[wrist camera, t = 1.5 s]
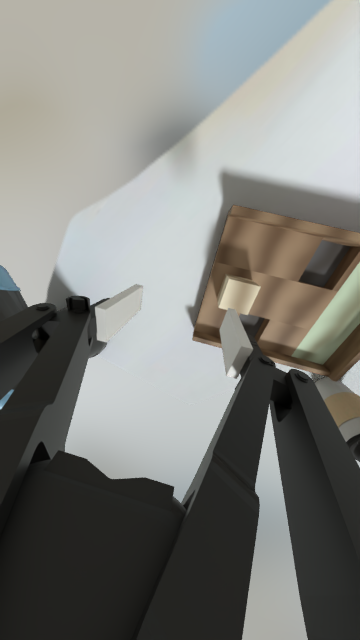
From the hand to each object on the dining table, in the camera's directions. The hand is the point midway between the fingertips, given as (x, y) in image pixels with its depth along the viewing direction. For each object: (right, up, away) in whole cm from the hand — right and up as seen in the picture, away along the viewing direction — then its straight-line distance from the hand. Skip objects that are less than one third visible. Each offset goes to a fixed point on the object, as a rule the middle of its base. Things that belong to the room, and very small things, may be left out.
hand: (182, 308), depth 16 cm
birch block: (+10, +5, +13) cm, 17 cm away
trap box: (+20, +3, +15) cm, 25 cm away
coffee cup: (+37, -18, +22) cm, 46 cm away
